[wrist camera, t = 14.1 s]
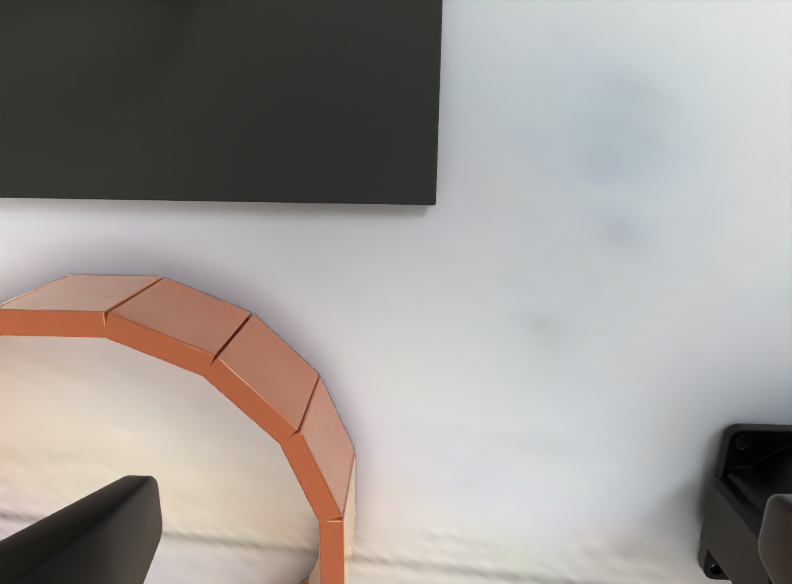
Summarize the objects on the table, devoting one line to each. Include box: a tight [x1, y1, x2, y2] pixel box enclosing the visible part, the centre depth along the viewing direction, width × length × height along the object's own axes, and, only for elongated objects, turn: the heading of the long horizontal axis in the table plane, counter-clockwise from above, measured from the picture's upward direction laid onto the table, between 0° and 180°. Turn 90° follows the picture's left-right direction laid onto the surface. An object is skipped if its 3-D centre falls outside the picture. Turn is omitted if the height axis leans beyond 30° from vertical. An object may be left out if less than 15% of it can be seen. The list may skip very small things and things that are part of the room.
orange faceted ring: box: [0, 274, 356, 584], centre depth 21 cm, size 17×17×4 cm
